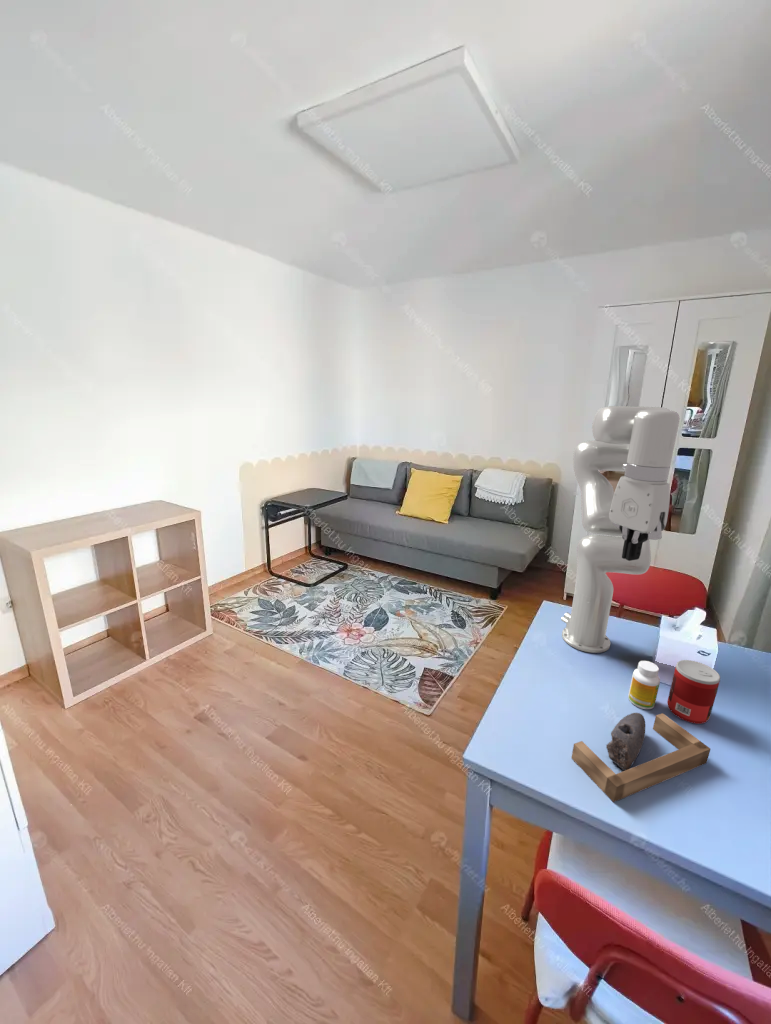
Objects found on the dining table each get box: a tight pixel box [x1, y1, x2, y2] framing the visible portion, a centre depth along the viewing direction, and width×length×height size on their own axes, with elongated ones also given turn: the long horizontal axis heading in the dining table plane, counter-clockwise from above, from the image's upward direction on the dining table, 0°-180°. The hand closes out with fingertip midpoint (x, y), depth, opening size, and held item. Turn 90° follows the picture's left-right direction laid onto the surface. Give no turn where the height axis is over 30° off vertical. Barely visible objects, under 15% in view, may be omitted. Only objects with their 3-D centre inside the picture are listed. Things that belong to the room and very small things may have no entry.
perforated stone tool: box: [605, 712, 646, 771], centre depth 87 cm, size 15×5×7 cm, turn 135°
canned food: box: [667, 659, 721, 725], centre depth 96 cm, size 8×8×11 cm
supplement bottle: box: [627, 660, 661, 710], centre depth 100 cm, size 5×5×10 cm
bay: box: [571, 712, 711, 803], centre depth 85 cm, size 10×24×4 cm, turn 111°
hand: (630, 558), depth 92 cm, fingers closed
